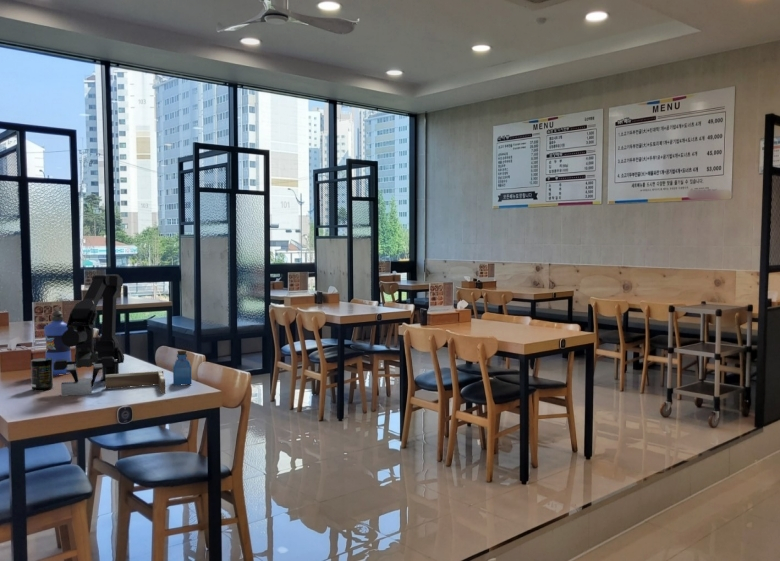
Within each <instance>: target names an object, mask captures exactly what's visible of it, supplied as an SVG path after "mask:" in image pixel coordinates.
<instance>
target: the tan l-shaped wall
mask: <svg viewBox="0 0 780 561" xmlns="http://www.w3.org/2000/svg"><path fill="white" fill-rule="evenodd" d="M153 384H158V385H157V386H158V387H160V388H159V390H161V391H160V393H161V394H162V393H164V394H166V378H165V376H164V370H154V371H153V370H152V371H141V372H140V371H139V372H126V373H125V372H122V373H119V374H108V375H105V389H106V390H108V388H111V389H121V387H123V388H131V387H130V386H136V387H143V386H142V385H149V386H154V385H153Z"/></svg>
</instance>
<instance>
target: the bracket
mask: <svg viewBox="0 0 780 561" xmlns="http://www.w3.org/2000/svg"><path fill="white" fill-rule="evenodd" d="M78 380H79V381H77V382H75V381H67V382H64V381H63V382H61V383H60V385H61V386H60V388H61V389H60V393H61V396H60V397H69V396H68V395H73V396H85V395H92V391H93V388H92V377H82V378H78Z"/></svg>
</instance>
